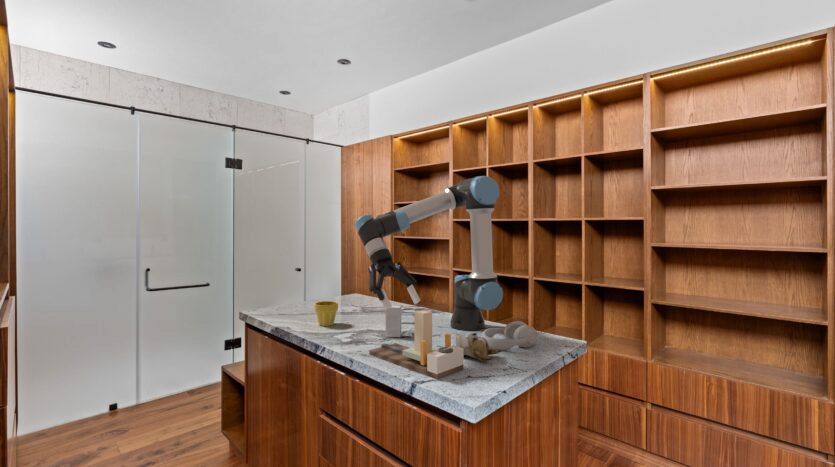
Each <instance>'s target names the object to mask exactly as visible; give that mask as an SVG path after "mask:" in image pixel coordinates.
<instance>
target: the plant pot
mask: <svg viewBox="0 0 835 467" xmlns="http://www.w3.org/2000/svg"><path fill="white" fill-rule="evenodd" d="M337 311H339V302H337V301H336V300H335V301H334V300H322V301H317V302H315V303H314V312H315V314H316V318H317V322H318V325H319V326H320V325H322V326H321V327H329V326H328V325H331V326H333V325H334V324H335V320H336V315H337Z"/></svg>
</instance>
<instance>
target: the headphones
mask: <svg viewBox="0 0 835 467" xmlns="http://www.w3.org/2000/svg"><path fill="white" fill-rule="evenodd" d="M499 333H504V336H505V338H495V337H494V336H495V335H497V334H499ZM481 337H483V338H485V339H486V341H487V342H488V344H489V346H490V347H492V348H493V349H495V350H496V351H498V350H500V351H509V350H511V349H512V348H514V347H517V346H518V347H519V348H530V347H531V346H533V345H534V343H535V342H536V340H537V339H538V335H537V330H536V329H535V327H533V326H531V325H530V326H529V325H528V324H527V323H525V322H523V321H521V320H515V321H514V320H513V321H512V322H509V323H508V324H507V325H506V326H504V327H489V328H486V329H485V330H484V331H483V332H482V334H481Z"/></svg>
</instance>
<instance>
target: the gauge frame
mask: <svg viewBox="0 0 835 467" xmlns="http://www.w3.org/2000/svg"><path fill="white" fill-rule="evenodd" d="M451 335H452V334H450V333H446V334H445V335H444V347H451V346H452V344H451V342H452V340H451V337H452V336H451ZM435 351H438V350H435ZM435 351H432V352H435ZM432 352H429V353H432ZM429 353H427V341H425V340H423V341H421V365H426V364H427V354H429Z"/></svg>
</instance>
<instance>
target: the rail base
mask: <svg viewBox="0 0 835 467" xmlns="http://www.w3.org/2000/svg"><path fill="white" fill-rule="evenodd" d="M409 348H410V347H409V346H406V345H403V344H400V343H396V342H395V343H391V344H388V343H383V344H381V346H379V347H376V348H372V349H369V350H368V355H369V354H370V356H372V355H373V357H376V358H378V359H380V360H383V361H386V362H388V363H391V364H395V365H398V366H400V367H403V368H405V369H408V370H411V371H413V372H416V373H419V374H422V375H424V376H427V377H430V378H432V379H435V380H439V379H442V378H444V377H448V376H449V375H452V374H456V373H457V372H460V371H463V370H464V364H463V365H461V366H458V367H455V368H453V369H450V370H447V371H444V372H442V373H439V374H435V373H432V372H429V371H427V364H426V365H421V361H418V360H415V359H412V358H409V357H406V356H403V355H402V350H405V349H409Z"/></svg>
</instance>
